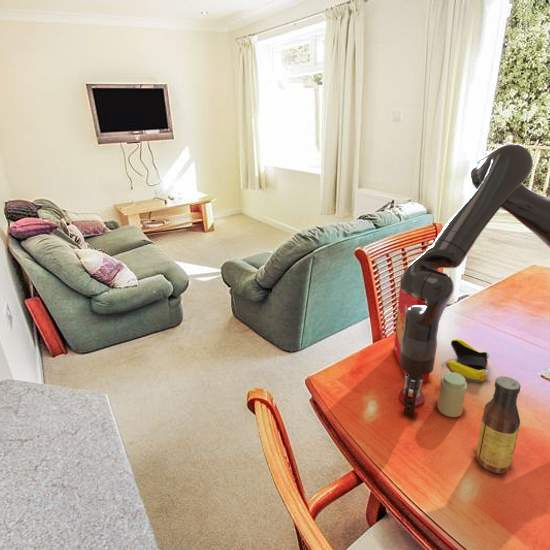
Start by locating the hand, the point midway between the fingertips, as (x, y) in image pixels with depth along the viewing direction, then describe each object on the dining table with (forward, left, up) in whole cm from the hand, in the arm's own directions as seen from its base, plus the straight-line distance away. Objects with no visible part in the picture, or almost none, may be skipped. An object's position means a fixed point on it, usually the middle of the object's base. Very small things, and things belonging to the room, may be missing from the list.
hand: (410, 406), depth 92 cm
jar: (-9, 0, 0) cm, 9 cm away
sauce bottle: (-14, +14, 0) cm, 20 cm away
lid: (0, 0, +3) cm, 3 cm away
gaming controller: (-17, -17, 0) cm, 24 cm away
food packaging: (-2, -17, 0) cm, 17 cm away
